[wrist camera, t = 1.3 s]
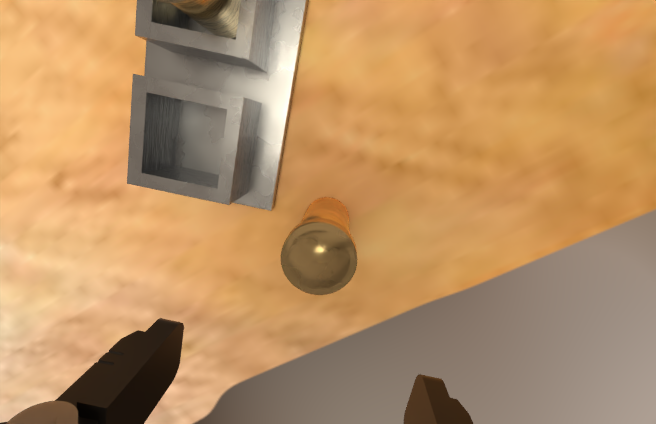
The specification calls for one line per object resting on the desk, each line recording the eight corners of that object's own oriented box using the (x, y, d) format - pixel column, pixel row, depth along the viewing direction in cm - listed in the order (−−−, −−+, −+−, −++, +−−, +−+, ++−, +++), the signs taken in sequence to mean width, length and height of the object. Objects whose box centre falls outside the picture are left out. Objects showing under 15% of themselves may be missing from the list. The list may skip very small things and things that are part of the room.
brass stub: (358, 199, 30) (364, 232, 20) (347, 248, 31) (347, 301, 22) (306, 188, 30) (287, 216, 20) (296, 237, 31) (275, 286, 22)
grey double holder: (315, -40, 26) (293, -163, 15) (273, 207, 31) (234, 250, 20) (162, -72, 26) (29, -220, 15) (145, 180, 31) (36, 208, 20)
